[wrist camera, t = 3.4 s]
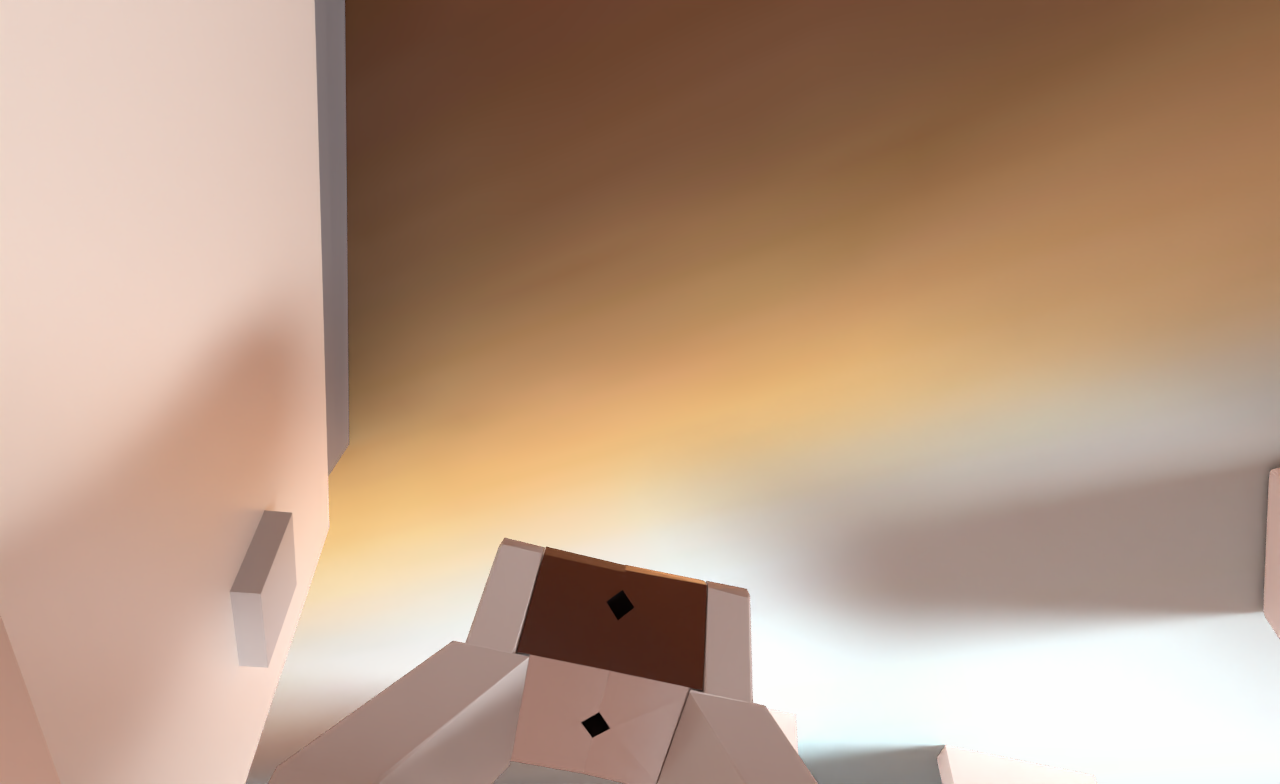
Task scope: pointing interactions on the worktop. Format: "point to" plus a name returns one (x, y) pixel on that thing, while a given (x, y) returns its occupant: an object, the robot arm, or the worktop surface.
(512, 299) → the worktop surface
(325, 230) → the shallow grey box
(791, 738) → the white bracket plate
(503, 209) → the worktop surface
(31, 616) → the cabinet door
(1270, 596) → the milk carton
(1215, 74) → the worktop surface
